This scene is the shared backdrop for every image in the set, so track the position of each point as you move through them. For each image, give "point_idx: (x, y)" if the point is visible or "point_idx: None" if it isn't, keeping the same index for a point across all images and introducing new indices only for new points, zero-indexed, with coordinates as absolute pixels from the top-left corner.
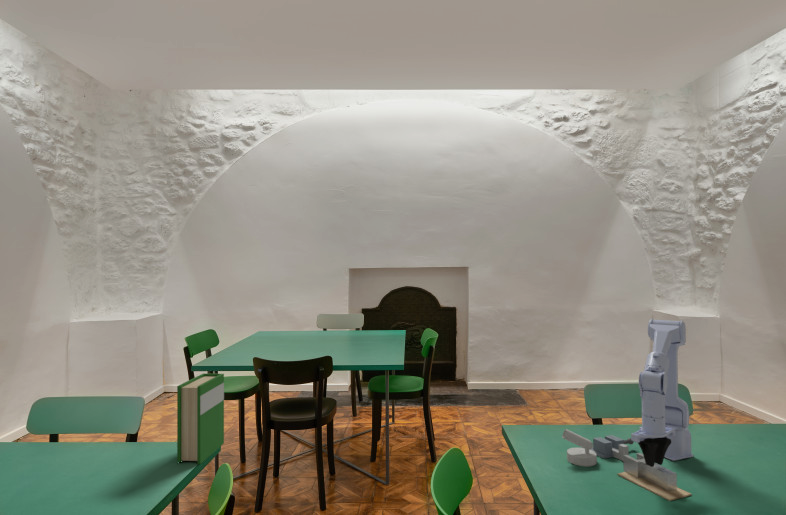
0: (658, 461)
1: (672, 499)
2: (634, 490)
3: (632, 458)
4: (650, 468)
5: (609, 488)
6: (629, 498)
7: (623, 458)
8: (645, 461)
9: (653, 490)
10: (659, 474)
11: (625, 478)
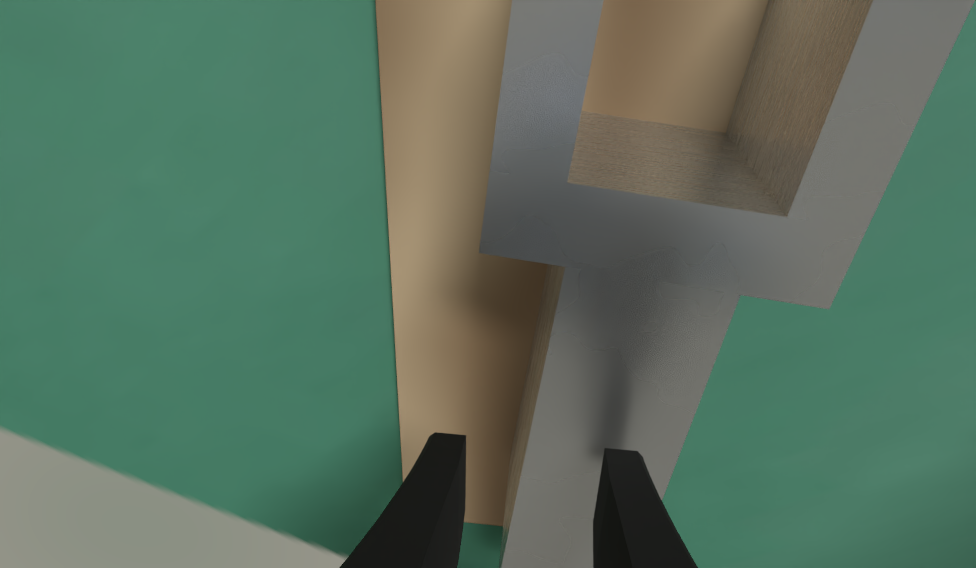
0: (597, 533)
1: None
2: (275, 297)
3: (549, 99)
4: (537, 382)
5: (58, 166)
6: (132, 363)
7: None
8: (420, 459)
9: (411, 395)
10: (516, 475)
11: (383, 77)
